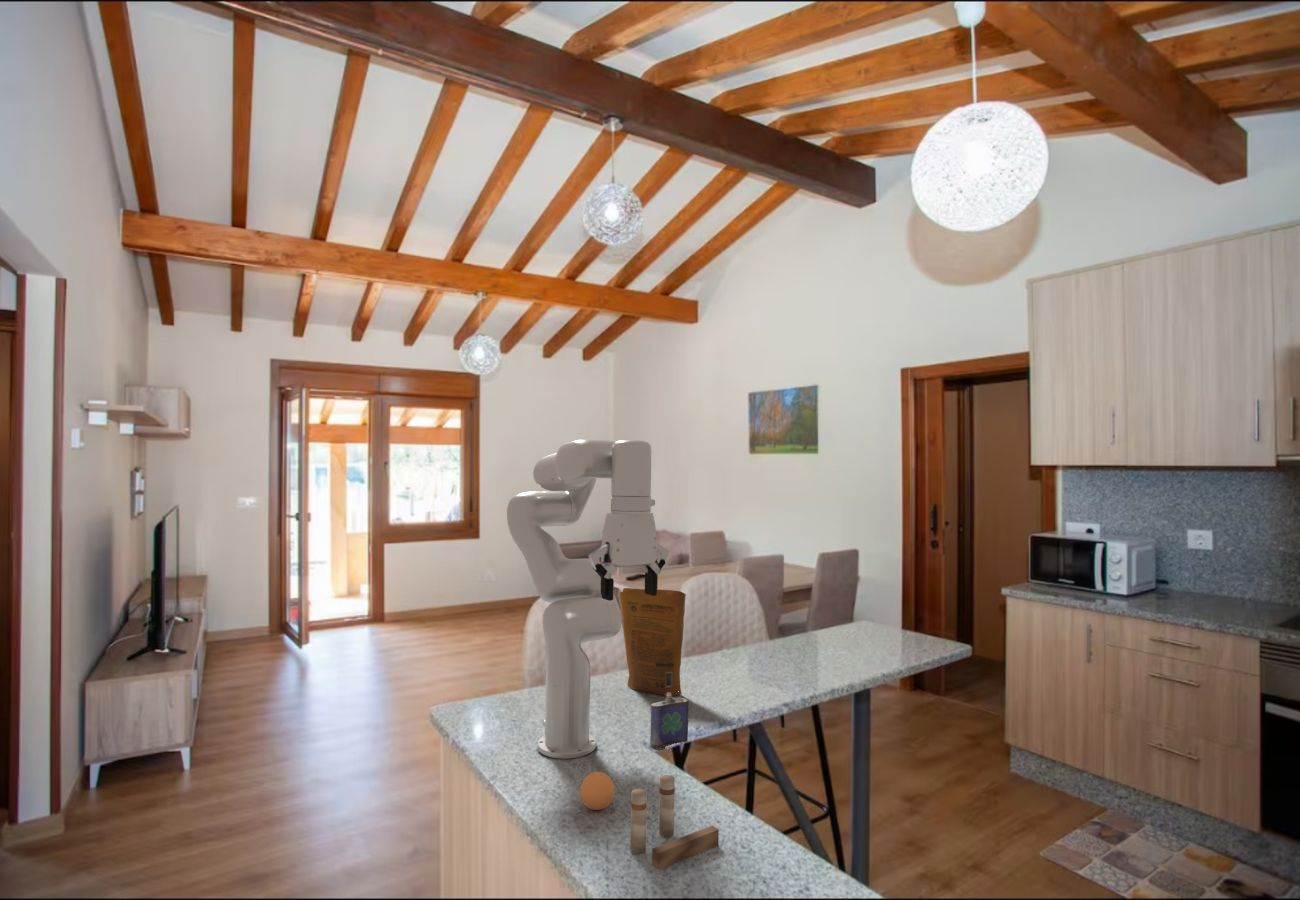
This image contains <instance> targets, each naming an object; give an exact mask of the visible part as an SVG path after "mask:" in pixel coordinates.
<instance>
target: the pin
mask: <svg viewBox="0 0 1300 900" xmlns="http://www.w3.org/2000/svg"><path fill="white" fill-rule="evenodd" d="M675 779H676V778H675V776H673V775H672V774H671V775H670V774H663V775H661V776H660V777H659V816H658V817H659V821H658V824H659V825H658V826H659V827H658V833H659V836H660V837H662V838H666V839H667V838H671V837H673V836H674V835H675V834H674V833H675V829H674V827H675V792H676V787H675Z"/></svg>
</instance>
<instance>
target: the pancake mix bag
mask: <svg viewBox="0 0 1300 900" xmlns="http://www.w3.org/2000/svg"><path fill="white" fill-rule="evenodd" d="M686 596H687V594H686V593H684V592H683V591H682V590H681V591H680V590H671V589H658V588H657V595H656V596H652V595H649V594H646V593H645V588H644V589H643V588H630V587H623V589H622V591H620V590H619V593H618V602H619V608H620V611H621V616H622V624H621V628H622V630H623V631H622V633H623V638H624V639H623V640H624V647H625V657H626V662H627V669H628V675H629V676H628V678H627V679H628V680H627V686H628V688H629V689H630V690H633V691H637V692H644V693H647V694H648V693H649V694H655V695H661V696H665V697H667V694H666V693H669V692H670V693H672V694H671V696H672V697H674V696H676V697H677V696H679V695H682V690H681V689H682V688H681V676H680V673H681V664H682V650H683V649H682V648H683V642H684V641H683V640H684V627H685V626H684V625H685V612H686ZM678 691H679V692H678ZM665 694H666V695H665Z"/></svg>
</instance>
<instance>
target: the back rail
mask: <svg viewBox="0 0 1300 900" xmlns="http://www.w3.org/2000/svg"><path fill="white" fill-rule="evenodd" d="M719 831H720V830H719V828H717V827H716V826H714V825H713V824H712V825H710V826H707V827H704V828H702V829H700V830H697V831H695V832H692V833H690V834H687V835H683V836H682V837H679V838H676V839H674V840H671V841H668V842H666V843H663V844H661V845H658V846H656V847H653V848H652V849H651V850H652V851H651V866H652V867H653V868H654V869H655V870H657V871H659V870H662V869H664V868H667V867H669V866H673V865H675V864H677V863H679V862H682V861H685V860H687V859H690V858H691V857H694V856H696V855H698V854H701V853H703V852H706V851H708V850H710V849H713V848H715V847H718V846H719V837H720V836H719V835H720V834H719V833H720V832H719Z"/></svg>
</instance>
